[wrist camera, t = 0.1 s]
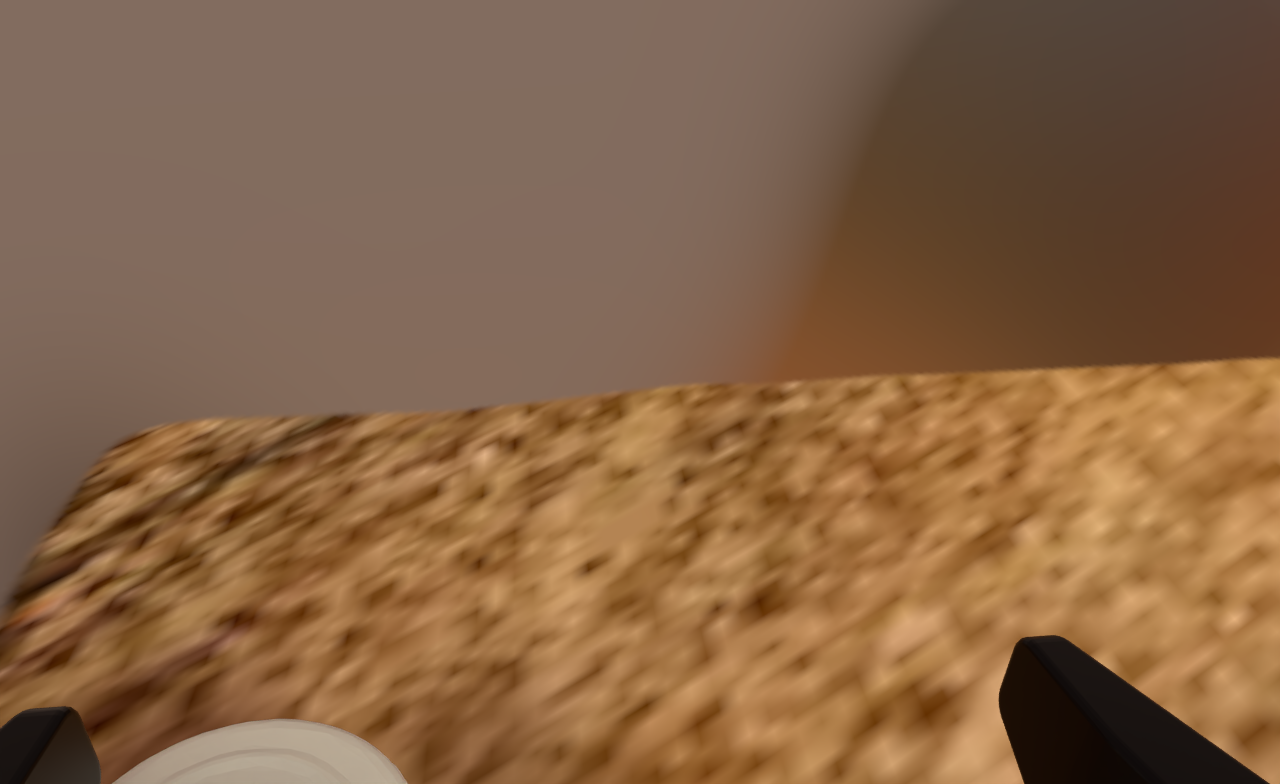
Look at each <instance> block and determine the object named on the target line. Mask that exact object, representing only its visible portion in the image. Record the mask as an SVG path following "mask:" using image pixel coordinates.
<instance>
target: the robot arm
mask: <svg viewBox="0 0 1280 784" xmlns="http://www.w3.org/2000/svg"><path fill="white" fill-rule="evenodd" d="M999 708H1000V713H1001V717H1002V720H1003V723H1004V726H1005V729H1006V732H1007V735H1008V738H1009V741H1010V743H1011V746H1012V749H1013V752H1014V755H1015V758H1016V761H1017V764H1018V767H1019V770H1020V773H1021V776H1022V778H1023V781H1024V784H1269V783H1268V782H1267V781H1265V780H1264V779H1262V778H1261V777H1260V776H1258V775H1257V774H1255V773H1254V772H1252V771H1251V770H1250V769H1248V768H1247V767H1245V766H1244V765H1243V764H1241V763H1240V762H1238V761H1237V760H1236V759H1234V758H1233V757H1231V756H1230V755H1229V754H1227V753H1226V752H1224V751H1223V750H1222V749H1220V748H1219V747H1217V746H1216V745H1215V744H1213V743H1212V742H1210V741H1209V740H1208V739H1206V738H1205V737H1203V736H1202V735H1200V734H1199V733H1198V732H1196V731H1195V730H1193V729H1192V728H1191V727H1189V726H1188V725H1186V724H1185V723H1184V722H1182V721H1181V720H1179V719H1178V718H1177V717H1175V716H1174V715H1172V714H1171V713H1170V712H1168V711H1167V710H1165V709H1164V708H1163V707H1161V706H1160V705H1158V704H1157V703H1156V702H1154V701H1153V700H1151V699H1150V698H1148V697H1147V696H1146V695H1144V694H1143V693H1141V692H1140V691H1139V690H1137V689H1136V688H1134V687H1133V686H1132V685H1130V684H1129V683H1127V682H1126V681H1125V680H1123V679H1122V678H1120V677H1119V676H1118V675H1116V674H1115V673H1113V672H1112V671H1111V670H1109V669H1108V668H1106V667H1105V666H1104V665H1102V664H1101V663H1099V662H1098V661H1097V660H1095V659H1094V658H1092V657H1091V656H1089V655H1088V654H1087V653H1085V652H1084V651H1082V650H1081V649H1080V648H1078V647H1077V646H1075V645H1074V644H1073V643H1071V642H1070V641H1068V640H1067V639H1065V638H1063V637H1060V636H1056V635H1048V636H1034V637H1025V638H1022V639H1020V640H1019V641H1018V642H1017V643H1016V645H1015V647H1014V650H1013V653H1012V655H1011V658H1010V661H1009V664H1008V667H1007V670H1006V673H1005V676H1004V679H1003V682H1002V685H1001V688H1000V691H999ZM100 783H101V769H100V764H99V760H98V758H97V755H96V753H95V751H94V748H93V746H92V744H91V741H90V739H89V736H88V734H87V732H86V729H85V727H84V724H83V722H82V720H81V717H80V715H79V714H78V712H77V711H76V710H74V709H73V708H71V707H66V706H63V707H49V708H35V709H28V710H25V711H22V712H21V713H19V714H17V715H16V716H14V717H13V718H12V719H10V720H9V721H8V722H7V723H6V724H5V725H4V726H2V727H1V728H0V784H100Z"/></svg>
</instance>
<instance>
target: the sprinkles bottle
mask: <svg viewBox="0 0 1280 784" xmlns="http://www.w3.org/2000/svg"><path fill="white" fill-rule="evenodd" d="M112 784H408V783H407V781H406V780H405V778H404V777H403V775H402V774H401V772H400V771H399V769H398V768H397V767H396V766H395V765H394V764H393V763H392V762H391V761H390V760H389V759H388V758H387V757H386V756H385V755H384V754H383V753H381V752H380V751H379V750H378V749H377V748H376V747H374V746H373V745H371V744H370V743H368V742H367V741H365V740H363V739H362V738H360V737H358V736H356V735H354V734H352V733H350V732H347V731H345V730H343V729H340V728H337V727H334V726H330V725H326V724H322V723H317V722H311V721H305V720H297V719H270V720H260V721H250V722H245V723H239V724H234V725H230V726H226V727H223V728H219V729H215V730H212V731H208V732H205V733H202V734H199V735H196V736H194V737H191V738H188V739H186V740H183V741H181V742H179V743H177V744H174V745H172V746H170V747H168V748H166V749H164V750H163V751H161V752H159V753H157V754H155V755H153V756H151V757H150V758H148V759H146V760H145V761H143V762H141V763H139V764H138V765H137V766H135V767H134V768H132V769H131V770H130V771H128V772H127V773H125V774H124V775H123V776H121V777H120V778H119V779H117V780H116V781H115V782H113V783H112Z"/></svg>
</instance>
